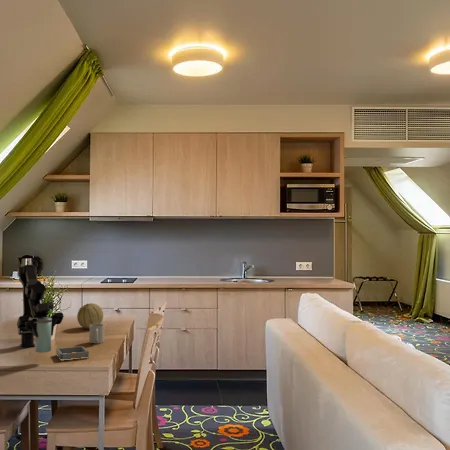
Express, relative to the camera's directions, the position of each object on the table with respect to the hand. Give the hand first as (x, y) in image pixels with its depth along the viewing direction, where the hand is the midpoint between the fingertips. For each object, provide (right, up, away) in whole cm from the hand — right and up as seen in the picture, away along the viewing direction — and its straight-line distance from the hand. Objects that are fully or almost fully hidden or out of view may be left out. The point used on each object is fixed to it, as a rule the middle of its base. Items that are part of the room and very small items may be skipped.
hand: (44, 336), depth 209 cm
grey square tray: (+8, -12, +11) cm, 19 cm away
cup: (+12, -13, +38) cm, 42 cm away
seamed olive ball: (-1, -13, +74) cm, 75 cm away
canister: (-1, -7, +1) cm, 7 cm away
